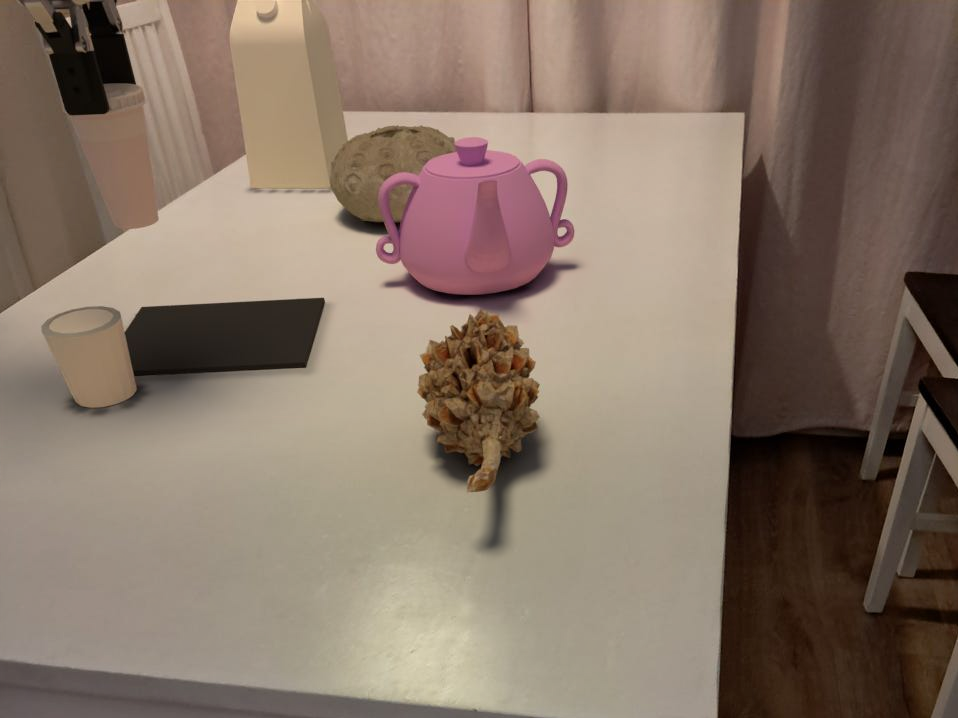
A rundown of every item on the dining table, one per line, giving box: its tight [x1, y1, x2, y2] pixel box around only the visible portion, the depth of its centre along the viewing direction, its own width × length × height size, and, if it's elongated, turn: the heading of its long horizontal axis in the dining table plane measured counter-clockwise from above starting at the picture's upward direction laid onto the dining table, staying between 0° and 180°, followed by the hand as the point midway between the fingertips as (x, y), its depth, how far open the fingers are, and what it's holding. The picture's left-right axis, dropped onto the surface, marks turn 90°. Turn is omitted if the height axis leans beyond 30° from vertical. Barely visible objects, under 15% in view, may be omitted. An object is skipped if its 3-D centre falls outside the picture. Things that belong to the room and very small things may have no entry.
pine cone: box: [416, 308, 541, 493], centre depth 69 cm, size 22×10×10 cm, turn 6°
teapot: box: [375, 136, 575, 296], centre depth 97 cm, size 22×22×14 cm
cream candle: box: [41, 305, 138, 409], centre depth 84 cm, size 7×7×7 cm
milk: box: [229, 0, 349, 189], centre depth 128 cm, size 12×12×26 cm
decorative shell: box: [330, 124, 457, 224], centre depth 118 cm, size 18×18×10 cm
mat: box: [124, 297, 326, 376], centre depth 94 cm, size 20×16×1 cm
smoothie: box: [59, 26, 159, 230], centre depth 73 cm, size 6×6×14 cm
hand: (103, 100), depth 72 cm, fingers closed on smoothie, 6 cm apart
